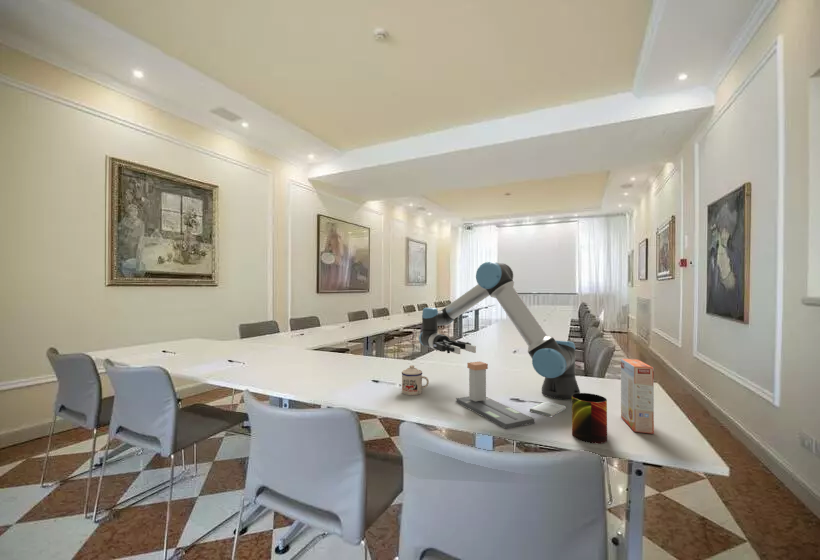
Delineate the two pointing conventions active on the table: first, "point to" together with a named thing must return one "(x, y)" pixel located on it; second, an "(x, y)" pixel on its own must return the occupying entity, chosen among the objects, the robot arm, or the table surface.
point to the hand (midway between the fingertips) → (467, 350)
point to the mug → (589, 418)
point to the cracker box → (637, 395)
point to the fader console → (496, 412)
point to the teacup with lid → (412, 381)
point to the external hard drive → (548, 408)
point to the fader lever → (477, 380)
